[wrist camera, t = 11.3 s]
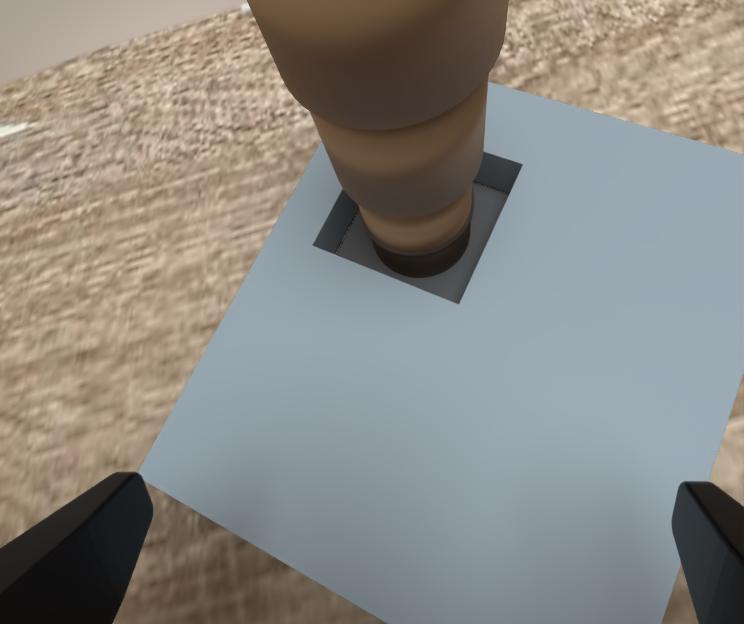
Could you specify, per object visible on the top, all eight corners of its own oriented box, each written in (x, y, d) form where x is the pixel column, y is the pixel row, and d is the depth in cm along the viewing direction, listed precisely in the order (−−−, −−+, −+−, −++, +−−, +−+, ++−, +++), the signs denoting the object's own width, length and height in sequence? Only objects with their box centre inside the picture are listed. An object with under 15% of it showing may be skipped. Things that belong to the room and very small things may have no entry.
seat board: (595, 721, 14) (617, 759, 12) (170, 475, 18) (136, 475, 16) (770, 206, 17) (808, 172, 15) (380, 87, 21) (372, 48, 19)
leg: (421, 318, 18) (335, -28, 6) (332, 236, 19) (108, -184, 7) (512, 227, 18) (617, -280, 6) (419, 153, 20) (351, -380, 7)
